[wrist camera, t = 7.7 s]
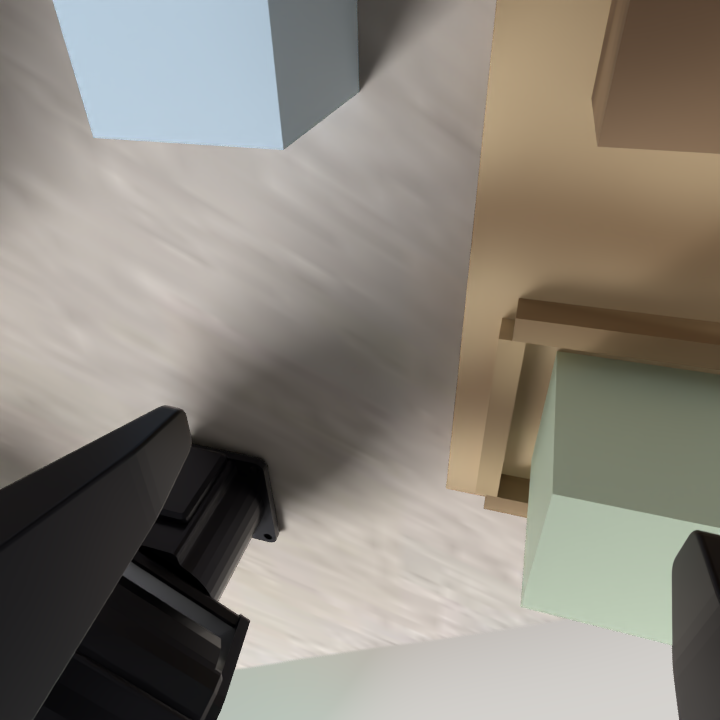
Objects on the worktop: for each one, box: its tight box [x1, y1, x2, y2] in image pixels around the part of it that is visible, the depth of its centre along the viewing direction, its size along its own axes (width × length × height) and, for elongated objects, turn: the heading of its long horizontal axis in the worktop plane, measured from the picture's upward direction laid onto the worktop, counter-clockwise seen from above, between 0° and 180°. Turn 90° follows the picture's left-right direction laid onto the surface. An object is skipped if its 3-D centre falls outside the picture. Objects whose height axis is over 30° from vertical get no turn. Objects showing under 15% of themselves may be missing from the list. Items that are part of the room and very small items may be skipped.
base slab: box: [446, 0, 720, 518], centre depth 15 cm, size 22×11×6 cm, turn 1°
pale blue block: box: [53, 0, 359, 150], centre depth 14 cm, size 5×5×6 cm
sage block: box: [521, 351, 720, 645], centre depth 17 cm, size 5×5×6 cm
